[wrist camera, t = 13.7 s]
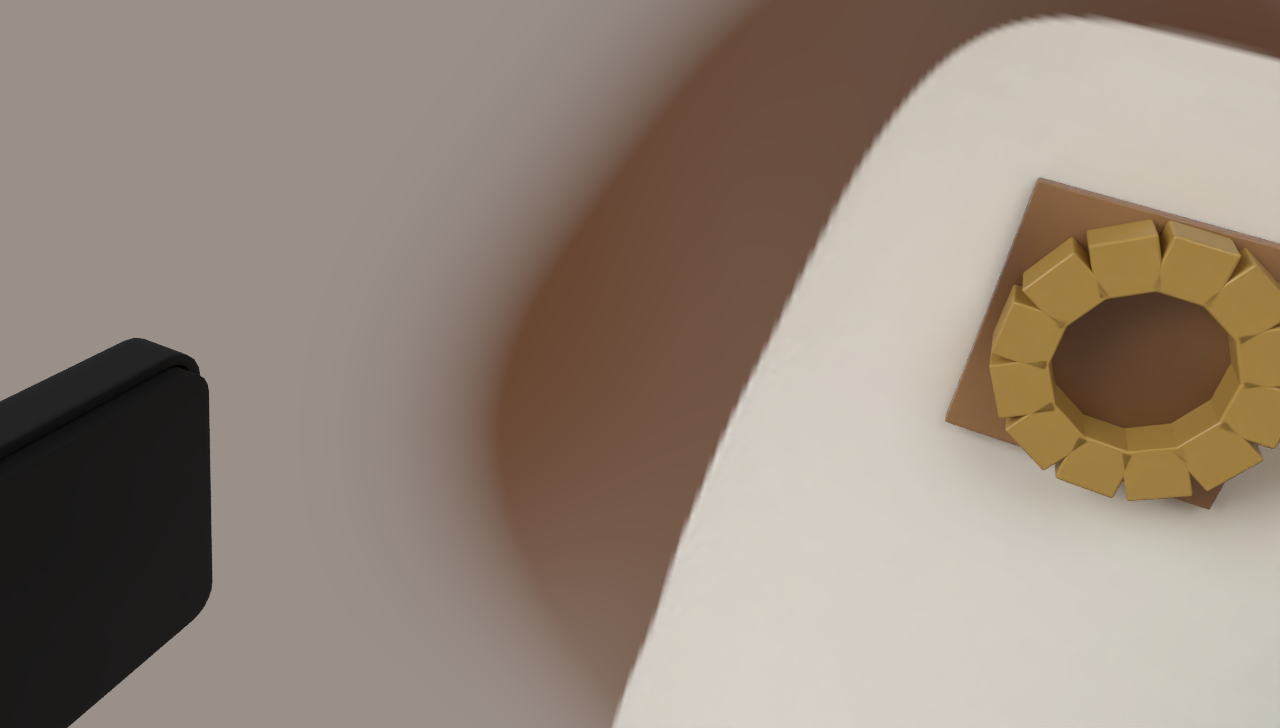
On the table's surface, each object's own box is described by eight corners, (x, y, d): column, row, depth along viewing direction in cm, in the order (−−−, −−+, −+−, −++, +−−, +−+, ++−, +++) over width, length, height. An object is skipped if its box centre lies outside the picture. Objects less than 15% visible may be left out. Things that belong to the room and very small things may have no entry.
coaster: (1038, 176, 29) (1038, 180, 29) (1340, 259, 27) (1345, 265, 27) (945, 415, 33) (944, 422, 32) (1207, 502, 31) (1209, 510, 31)
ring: (1055, 184, 29) (1056, 198, 27) (1353, 274, 27) (1370, 294, 26) (956, 418, 32) (952, 442, 31) (1213, 510, 31) (1221, 539, 29)
